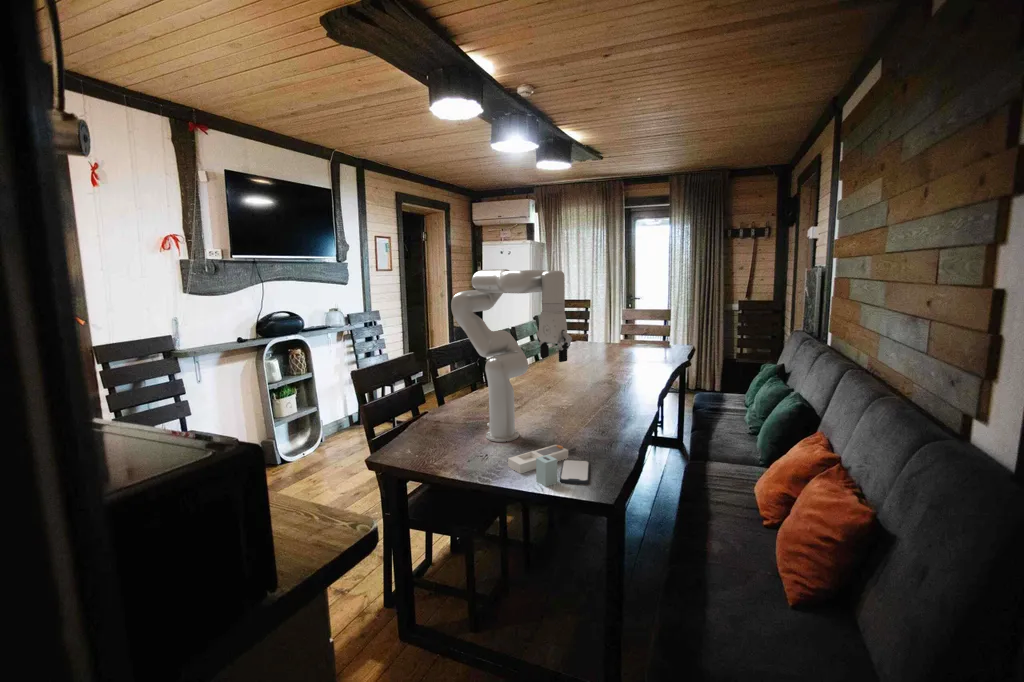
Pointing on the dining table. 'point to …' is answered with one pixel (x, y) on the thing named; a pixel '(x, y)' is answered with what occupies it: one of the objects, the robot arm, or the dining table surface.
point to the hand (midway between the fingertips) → (553, 359)
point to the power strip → (529, 459)
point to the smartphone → (575, 472)
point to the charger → (546, 470)
